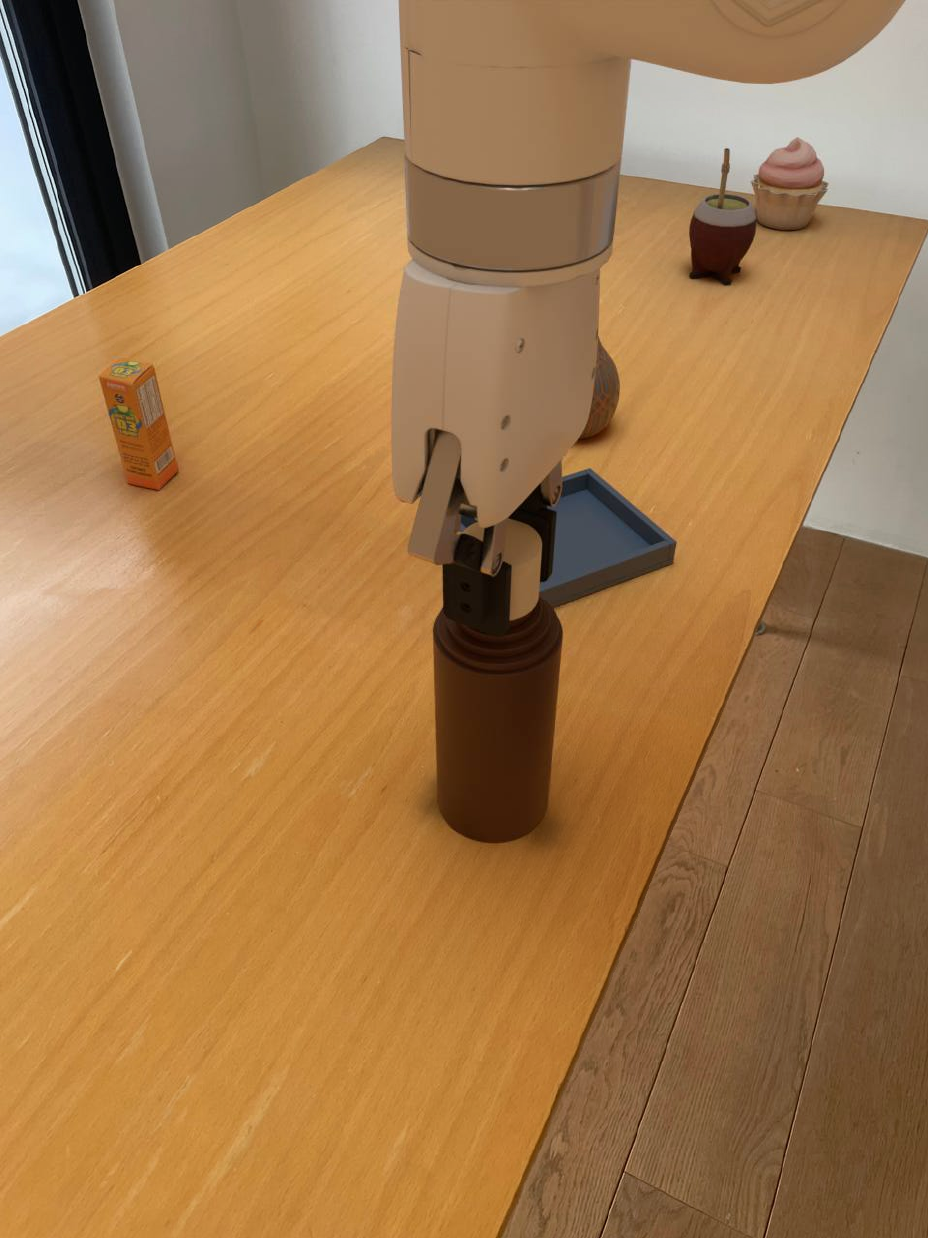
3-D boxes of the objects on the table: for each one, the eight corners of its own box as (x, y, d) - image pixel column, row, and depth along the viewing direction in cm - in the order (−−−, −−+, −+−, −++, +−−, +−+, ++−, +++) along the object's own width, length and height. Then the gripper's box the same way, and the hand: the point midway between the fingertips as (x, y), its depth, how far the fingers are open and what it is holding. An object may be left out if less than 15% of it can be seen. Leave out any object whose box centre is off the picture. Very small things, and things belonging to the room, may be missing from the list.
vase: (631, 433, 88) (643, 339, 82) (570, 457, 85) (577, 361, 80) (581, 400, 93) (589, 309, 87) (521, 422, 90) (525, 329, 84)
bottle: (511, 740, 61) (523, 495, 50) (569, 814, 57) (597, 566, 45) (418, 780, 59) (406, 532, 47) (471, 860, 55) (473, 611, 43)
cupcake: (728, 215, 128) (742, 130, 121) (787, 204, 131) (805, 121, 124) (774, 240, 121) (792, 153, 115) (836, 228, 124) (857, 142, 118)
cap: (511, 561, 50) (513, 508, 48) (555, 604, 48) (559, 550, 46) (444, 586, 49) (443, 533, 47) (485, 632, 46) (486, 578, 44)
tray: (588, 488, 82) (590, 467, 81) (673, 563, 75) (677, 541, 73) (444, 535, 77) (444, 513, 76) (520, 620, 70) (521, 598, 68)
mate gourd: (726, 258, 117) (751, 119, 107) (762, 285, 112) (791, 141, 102) (668, 266, 116) (688, 126, 106) (702, 294, 110) (726, 148, 100)
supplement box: (123, 485, 82) (93, 373, 75) (147, 463, 85) (120, 353, 78) (158, 493, 81) (131, 381, 75) (181, 471, 84) (157, 360, 77)
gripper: (522, 129, 43) (508, 489, 55) (285, 266, 32) (334, 677, 44) (690, 157, 40) (637, 529, 52) (494, 317, 29) (485, 740, 41)
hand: (498, 594), depth 48 cm, fingers closed on cap, 3 cm apart
